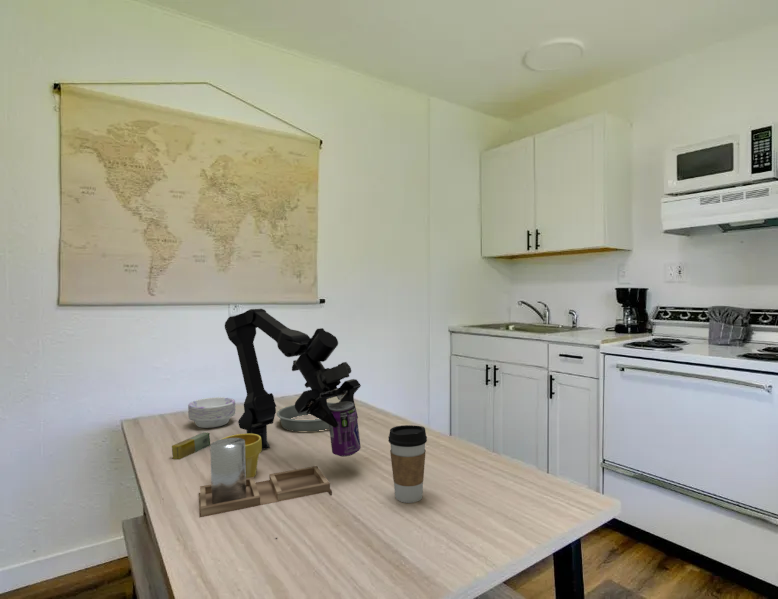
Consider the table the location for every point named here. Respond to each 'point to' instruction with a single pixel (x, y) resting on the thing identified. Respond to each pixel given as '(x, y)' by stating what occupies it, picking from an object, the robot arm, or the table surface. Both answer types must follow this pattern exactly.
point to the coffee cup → (408, 461)
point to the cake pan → (300, 425)
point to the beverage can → (344, 429)
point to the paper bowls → (211, 411)
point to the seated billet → (228, 470)
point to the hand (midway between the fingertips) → (346, 422)
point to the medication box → (190, 445)
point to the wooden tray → (268, 490)
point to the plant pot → (250, 451)
